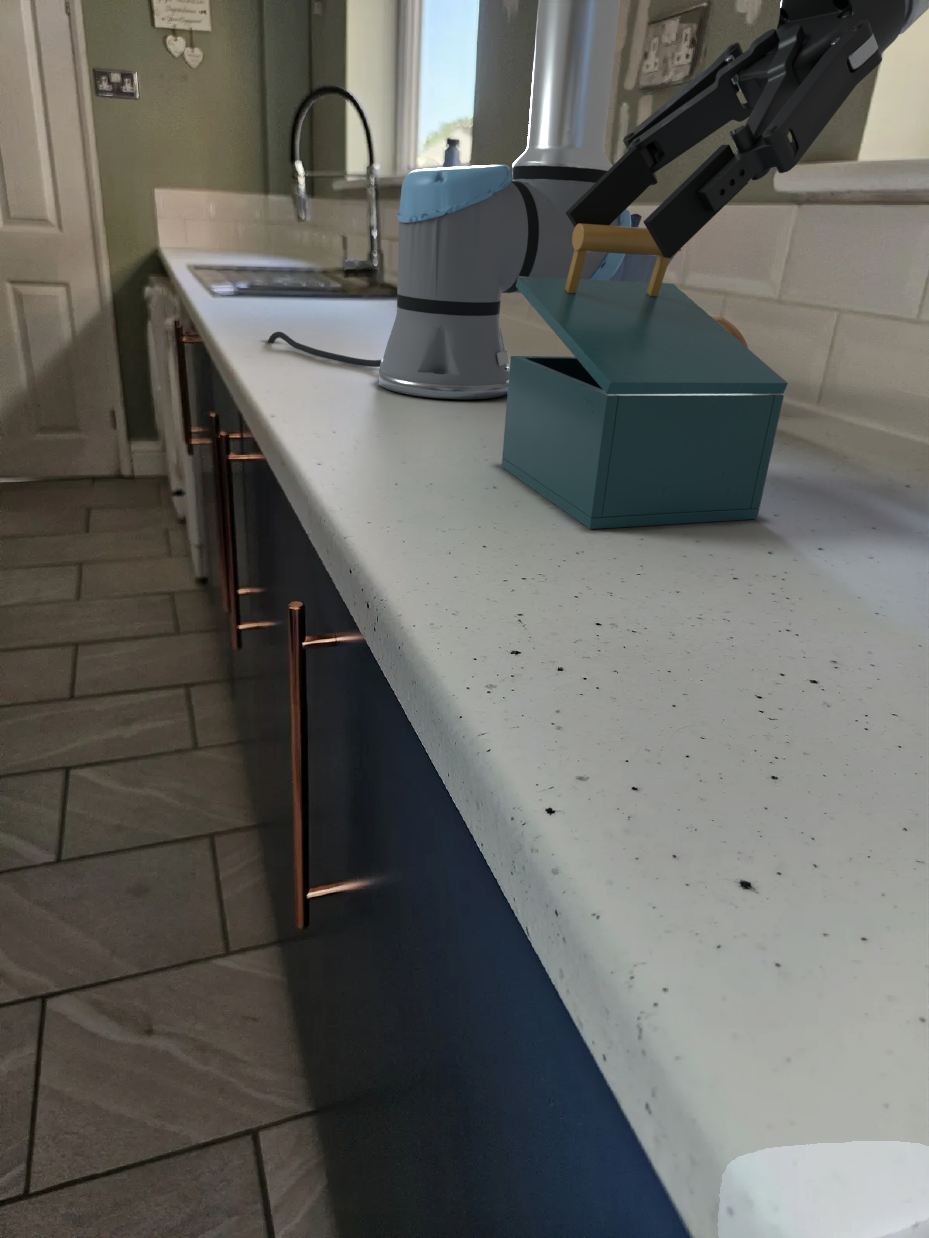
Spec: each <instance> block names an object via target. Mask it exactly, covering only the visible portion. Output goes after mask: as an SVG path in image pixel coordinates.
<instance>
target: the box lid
mask: <svg viewBox="0 0 929 1238" xmlns="http://www.w3.org/2000/svg"><path fill="white" fill-rule="evenodd" d="M572 244H573V248H574V253H573V257H572V262H571V266H570V270H569V274H568V278H567V279H564V278H543V277H522V276H518V278H517V283H516V287H517V289H518V290H519V291H520V292H521V293H520V294H521V295H522V296H523V298H525V299H526V301H527V302H528V303H529V304H530V305H531V306H532V308H533V309H534V310H535V311H536V312H537V314H538V315H539V316H540V317H541V318H542V320H544V322H545V323H546V324H547V326H548V327H549V328H550V329H551V330H552V332H554V333H555V335H556V336H557V337H558V338H559V340H561V342H562V343H563V344H564V345H565V346H566V348H567V349H568V350H569V351H570V352H571V354H572V355H573V357H576V358H577V359H578V361H579V362H580V363H581V364H582V365H583V367H584V368H585V369H586V370H587V371H588V372H589V374H590V375H591V376H592V377H593V378H594V380H595V381H596V382H597V383H598V384H599V385H600V387H601V388H602V389H603V390H604V391H605V393H606V394H781V395H783V394H784V393H785V391H786V389H787V386H788V382H787V381H786V380H785V379H784V378H783V377H782V376H781V375H779V374H778V373H777V372H776V371H774V369H772V368H771V367H770V366H769V365H767V364H766V362H764V360H762V359H761V358H760V357H758V355H756V354H755V353H754V352H753V351H752V350H751V349H750V348H749V347H748V348H749V349H748V348H747V347H746V346H745V345H743V344H742V343H741V342H740V341H739V340H738V339H736V338H735V337H734V336H733V335H732V334H731V333H730V332H728V331H727V330H726V329H725V328H724V327H723V326H722V325H720V324H719V323H718V322H717V321H716V320H715V319H713V318H712V317H711V316H712V315H710V314H709V313H708V312H707V311H706V310H704V309H703V308H702V307H701V306H700V305H699V304H698V303H696V302H695V301H694V300H693V299H692V298H691V297H689V296H688V295H687V294H686V293H685V292H684V291H682V290H681V288H679V287H678V286H676V284H675V283H669V282H664V278H665V275H666V273H667V268H668V267H667V266H669V265H668V263H669V259H670V258H665V257H663V255H662V253H661V251H660V250H659V248H658V246H657V245H656V243H655V241H654V239H653V238H652V236H651V234H650V233H649V231H648V229H647V227H639V226H638V227H624V226H610V225H596V224H582V223H579V224H577V225H576V226H575V228H574V231H573V235H572ZM586 252H603V253H620V254H637V255H653V256H658V257H657V260H656V264H655V267H654V270H653V273H652V277H651V280H650V283H649V282H628V281H607V280H586V279H580V276H581V272H582V268H583V264H584V260H585V256H586ZM677 254H678V252H677V253H676V254H675V256H676V255H677ZM673 256H674V255H673ZM675 256H674V257H675ZM669 264H670V263H669Z"/></svg>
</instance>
